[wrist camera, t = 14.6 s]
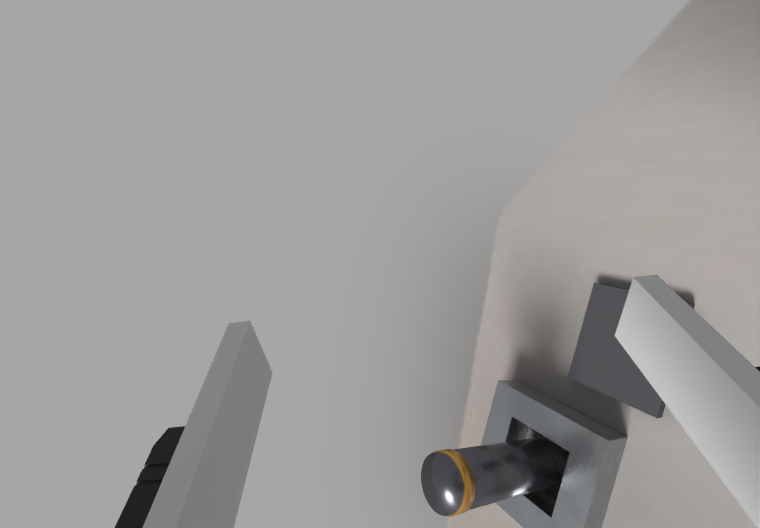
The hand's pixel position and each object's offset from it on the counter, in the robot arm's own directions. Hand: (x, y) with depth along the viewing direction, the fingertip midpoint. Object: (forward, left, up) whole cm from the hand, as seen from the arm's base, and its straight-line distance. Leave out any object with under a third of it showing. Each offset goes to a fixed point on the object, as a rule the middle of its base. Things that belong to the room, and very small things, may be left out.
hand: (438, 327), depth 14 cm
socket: (+15, -10, -30) cm, 36 cm away
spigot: (+15, -10, -30) cm, 36 cm away
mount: (+1, -6, -30) cm, 31 cm away
